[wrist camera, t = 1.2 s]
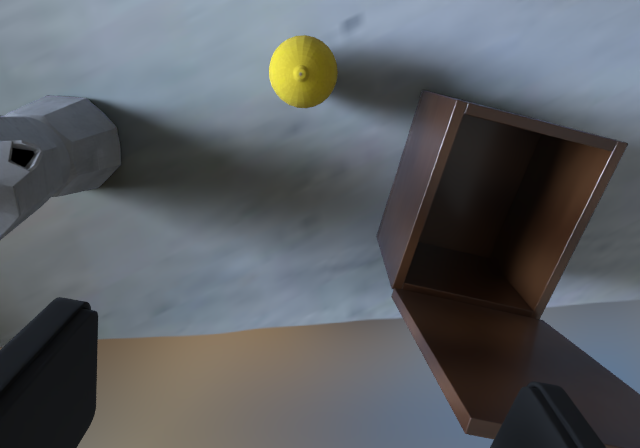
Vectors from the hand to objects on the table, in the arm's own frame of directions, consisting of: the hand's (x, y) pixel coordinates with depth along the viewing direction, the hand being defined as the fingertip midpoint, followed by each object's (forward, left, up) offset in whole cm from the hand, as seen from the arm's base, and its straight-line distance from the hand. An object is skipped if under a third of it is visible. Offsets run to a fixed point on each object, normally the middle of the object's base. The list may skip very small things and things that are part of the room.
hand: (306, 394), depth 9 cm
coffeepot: (+6, -24, -33) cm, 41 cm away
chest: (+1, +14, -33) cm, 36 cm away
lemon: (-5, -3, -33) cm, 34 cm away
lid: (+7, +14, -14) cm, 21 cm away
